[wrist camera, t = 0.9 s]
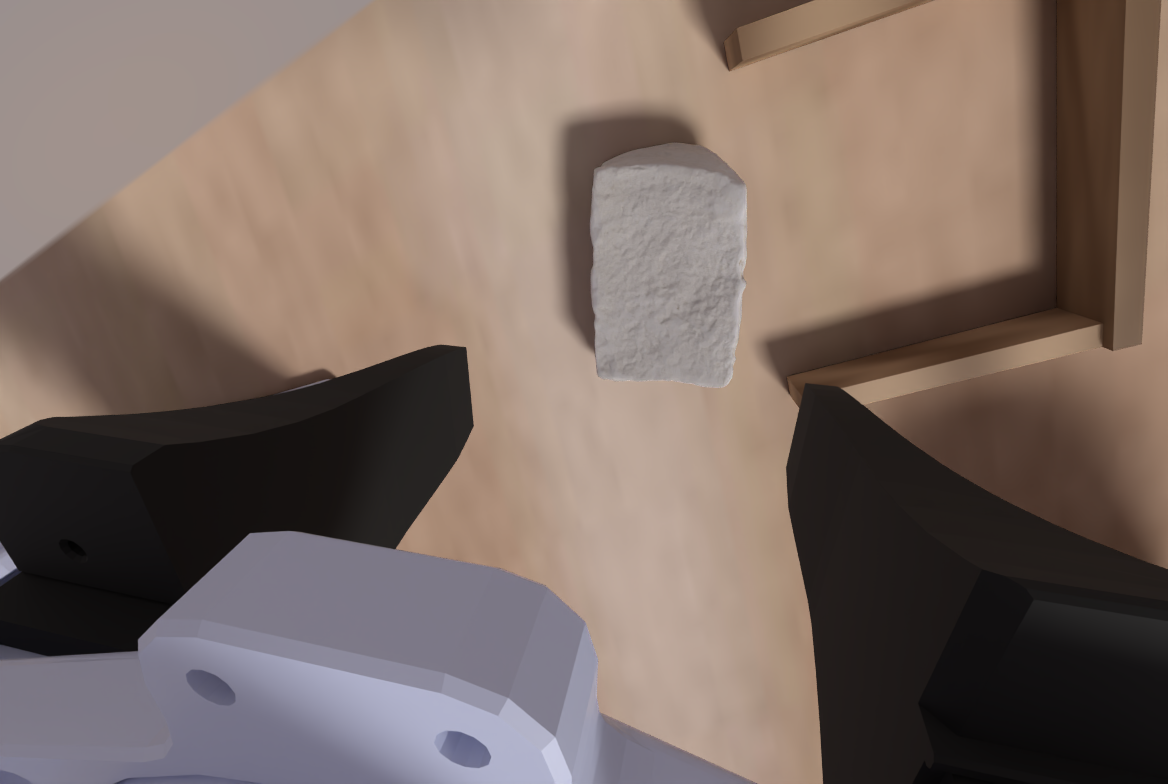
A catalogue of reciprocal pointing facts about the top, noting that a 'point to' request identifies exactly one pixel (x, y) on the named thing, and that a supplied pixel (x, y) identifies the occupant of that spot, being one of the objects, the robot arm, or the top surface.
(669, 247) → the white rough stone
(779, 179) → the top surface
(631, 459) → the top surface
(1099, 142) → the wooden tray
